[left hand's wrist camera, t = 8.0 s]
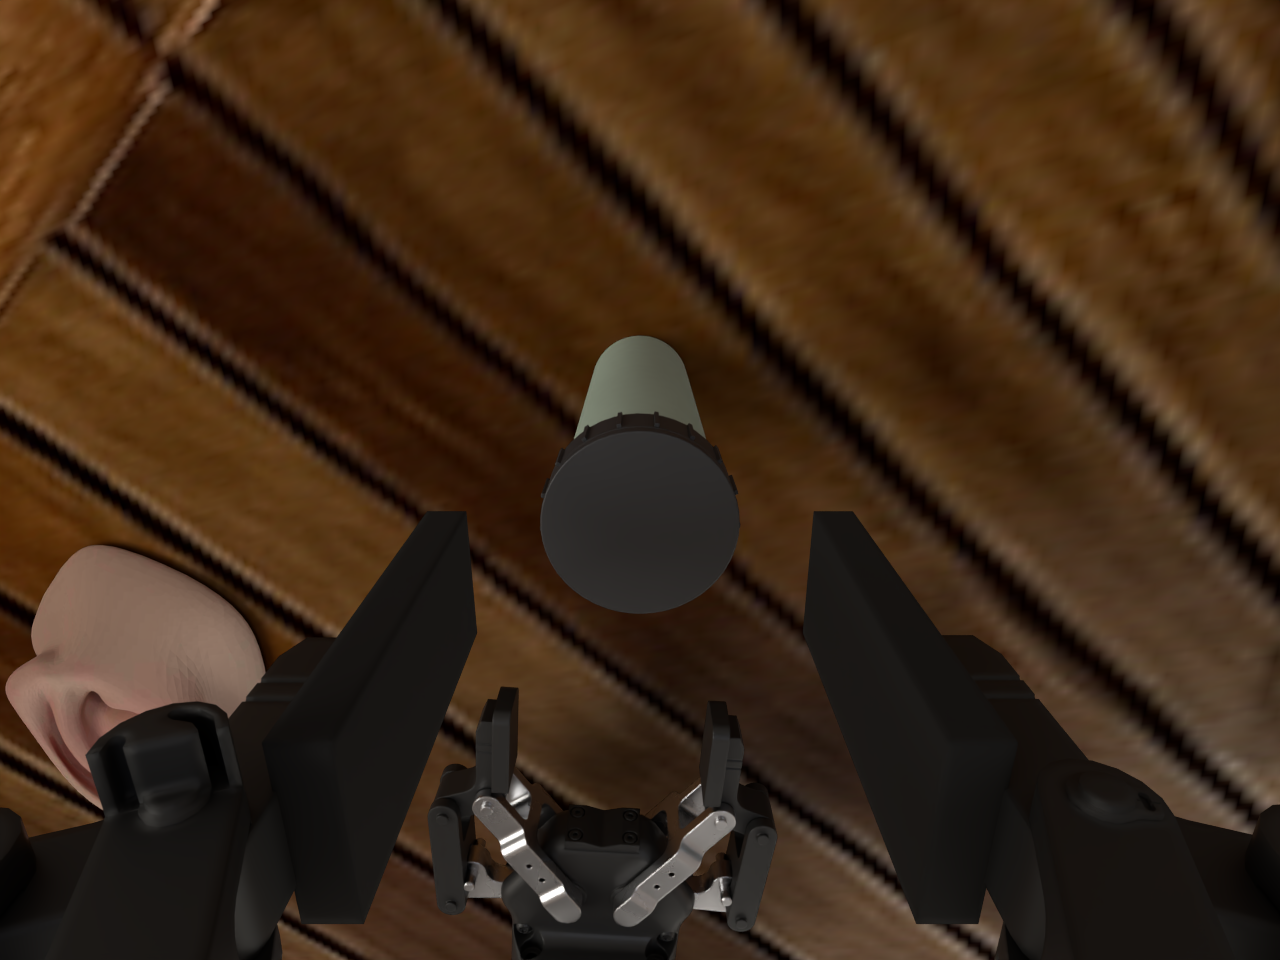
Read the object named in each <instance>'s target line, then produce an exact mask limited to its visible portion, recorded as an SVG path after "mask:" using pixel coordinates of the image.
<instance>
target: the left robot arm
mask: <svg viewBox="0 0 1280 960" xmlns="http://www.w3.org/2000/svg"><path fill="white" fill-rule="evenodd" d="M476 634H477V626H476V615H475V604H474V593H473V582H472V571H471V559H470V548H469V537H468V526H467V515H466V511H427V512H426V514H425V515H424V517H423V518H422V519H421V521H420V522H419V524H418V525H417V526H416V528H415V529H414V531H413V532H412V533H411V535H410V536H409V538H408V539H407V540H406V542H405V543H404V545H403V546H402V547H401V549H400V550H399V552H398V553H397V554H396V556H395V557H394V559H393V560H392V561H391V563H390V564H389V566H388V567H387V568H386V570H385V571H384V572H383V574H382V575H381V577H380V578H379V579H378V581H377V582H376V584H375V585H374V586H373V588H372V589H371V591H370V592H369V593H368V595H367V596H366V598H365V599H364V600H363V602H362V603H361V605H360V606H359V607H358V609H357V610H356V612H355V613H354V614H353V616H352V617H351V619H350V620H349V621H348V623H347V624H346V626H345V627H344V628H343V630H342V631H341V633H340V634H339V635H338V637H337V638H306V639H305V640H303V641H302V642H300V643H299V644H297V645H296V646H294V647H293V648H291V649H290V650H288V651H286V652H285V653H283V654H282V655H280V656H279V657H278V658H277V660H276V661H275V662H274V663H273V664H272V666H271V667H270V668H269V669H268V671H267V672H266V673H265V674H264V675H263V677H262V678H261V683H257V684H256V685H255V686H254V688H253V689H252V690H251V691H250V693H249V694H248V695H247V696H246V701H245V702H241V704H240V705H239V706H238V707H237V708H236V710H235V711H234V712H233V713H232V715H231V716H230V717H229V718H228V716H227V713H226V712H225V711H223V710H222V709H221V708H220V707H218V706H217V705H215V704H210V703H204V702H199V701H194V702H182V703H172V704H169V705H165V706H162V707H158V708H155V709H151V710H147V711H145V712H143V713H141V714H138V715H136V716H134V717H132V718H130V719H128V720H126V721H123V722H121V723H120V724H118V725H117V726H115V727H114V728H113V729H111V730H110V731H108V732H107V733H106V734H104V735H103V736H101V737H100V738H99V739H98V740H97V741H96V742H95V744H94V745H93V746H92V747H91V749H90V750H89V751H88V752H87V754H86V755H85V756H86V759H87V762H88V765H89V768H90V771H91V774H92V777H93V780H94V783H95V786H96V789H97V793H98V796H99V799H100V802H101V805H102V808H103V811H104V814H105V820H102V821H98V822H95V823H91V824H87V825H82V826H78V827H74V828H69V829H65V830H61V831H56V832H52V833H47V834H43V835H39V836H34V837H30V838H28V835H27V832H26V830H25V827H24V824H23V822H22V819H21V817H20V816H19V815H17V814H16V813H15V812H13V811H12V810H10V809H9V808H0V960H282V947H281V940H280V934H279V930H278V926H277V923H278V921H279V919H280V917H281V915H282V913H283V911H284V909H285V907H286V905H287V903H288V901H289V899H290V897H291V896H292V894H293V892H294V891H295V896H296V900H297V905H298V909H299V914H300V918H301V923H302V924H364V922H365V919H366V917H367V914H368V911H369V909H370V906H371V904H372V901H373V899H374V896H375V894H376V891H377V888H378V886H379V883H380V881H381V878H382V876H383V873H384V870H385V868H386V865H387V863H388V860H389V858H390V855H391V852H392V850H393V847H394V845H395V842H396V840H397V837H398V834H399V832H400V829H401V827H402V824H403V822H404V819H405V816H406V814H407V811H408V809H409V806H410V804H411V801H412V799H413V796H414V793H415V791H416V788H417V786H418V783H419V781H420V778H421V775H422V773H423V770H424V768H425V765H426V763H427V760H428V757H429V755H430V752H431V750H432V747H433V745H434V742H435V739H436V737H437V734H438V732H439V729H440V727H441V724H442V722H443V719H444V716H445V714H446V711H447V709H448V706H449V704H450V701H451V698H452V696H453V693H454V691H455V688H456V686H457V683H458V680H459V678H460V675H461V673H462V670H463V668H464V665H465V662H466V660H467V657H468V655H469V652H470V650H471V647H472V645H473V642H474V639H475V637H476ZM803 634H804V637H805V639H806V642H807V644H808V647H809V650H810V652H811V655H812V657H813V660H814V662H815V665H816V668H817V670H818V673H819V675H820V678H821V680H822V683H823V686H824V688H825V691H826V693H827V696H828V698H829V701H830V704H831V706H832V709H833V711H834V714H835V716H836V719H837V722H838V724H839V727H840V729H841V732H842V734H843V737H844V739H845V742H846V745H847V747H848V750H849V752H850V755H851V757H852V760H853V763H854V765H855V768H856V770H857V773H858V775H859V778H860V781H861V783H862V786H863V788H864V791H865V793H866V796H867V799H868V801H869V804H870V806H871V809H872V811H873V814H874V816H875V819H876V822H877V824H878V827H879V829H880V832H881V834H882V837H883V840H884V842H885V845H886V847H887V850H888V852H889V855H890V858H891V860H892V863H893V865H894V868H895V870H896V873H897V876H898V878H899V881H900V883H901V886H902V888H903V891H904V894H905V896H906V899H907V901H908V904H909V906H910V909H911V911H912V914H913V917H914V919H915V922H916V924H978V923H979V918H980V914H981V909H982V905H983V900H984V896H985V891H986V888H987V890H988V892H989V894H990V896H991V898H992V900H993V902H994V904H995V905H996V907H997V909H998V911H999V913H1000V915H1001V917H1002V919H1003V921H1004V922H1003V926H1002V930H1001V934H1000V938H999V943H998V947H997V951H996V955H995V960H1280V805H1272V806H1271V807H1269V808H1268V809H1266V810H1265V811H1264V812H1262V813H1261V814H1260V817H1259V819H1258V822H1257V824H1256V827H1255V830H1254V832H1253V835H1251V834H1247V833H1242V832H1238V831H1234V830H1229V829H1225V828H1220V827H1216V826H1212V825H1207V824H1203V823H1198V822H1194V821H1190V820H1186V819H1182V818H1179V817H1176V816H1174V815H1173V813H1172V812H1171V810H1170V809H1169V807H1168V806H1167V804H1166V803H1165V802H1164V800H1163V799H1162V798H1161V797H1160V796H1159V795H1158V794H1156V793H1155V792H1154V791H1153V790H1151V789H1150V788H1149V787H1148V786H1147V785H1145V784H1144V783H1143V782H1142V781H1140V780H1138V779H1136V778H1134V777H1132V776H1130V775H1128V774H1126V773H1125V772H1123V771H1121V770H1119V769H1117V768H1114V767H1110V766H1107V765H1104V764H1101V763H1098V762H1095V761H1091V760H1088V759H1087V757H1086V756H1085V755H1084V754H1083V753H1082V751H1081V750H1080V749H1079V748H1078V747H1077V745H1076V744H1075V743H1074V742H1073V740H1072V739H1071V738H1070V737H1069V736H1068V734H1067V733H1066V732H1065V731H1064V730H1063V728H1062V727H1061V726H1060V725H1059V723H1058V722H1057V721H1056V720H1055V719H1054V717H1053V716H1052V715H1051V714H1050V713H1049V711H1048V710H1047V709H1046V708H1045V706H1044V705H1043V704H1042V703H1041V702H1040V700H1039V699H1035V696H1034V695H1035V694H1034V693H1033V692H1032V691H1031V689H1030V688H1029V687H1028V686H1027V685H1026V683H1025V682H1024V681H1023V680H1020V678H1019V675H1018V674H1017V672H1016V671H1015V670H1014V669H1013V668H1012V666H1011V665H1010V664H1009V663H1008V661H1007V660H1006V659H1005V658H1004V657H1003V655H1002V654H1001V653H999V652H998V651H996V650H994V649H993V648H991V647H990V646H988V645H987V644H985V643H984V642H982V641H981V640H979V639H978V638H976V637H975V636H973V635H941V634H940V632H939V631H938V630H937V628H936V627H935V626H934V624H933V623H932V621H931V620H930V619H929V617H928V616H927V614H926V613H925V612H924V610H923V609H922V607H921V606H920V605H919V603H918V602H917V600H916V599H915V598H914V596H913V595H912V593H911V592H910V591H909V589H908V588H907V586H906V585H905V584H904V582H903V581H902V579H901V578H900V577H899V575H898V574H897V572H896V571H895V570H894V568H893V567H892V566H891V564H890V563H889V561H888V560H887V559H886V557H885V556H884V554H883V553H882V552H881V550H880V549H879V547H878V546H877V545H876V543H875V542H874V540H873V539H872V538H871V536H870V535H869V533H868V532H867V531H866V529H865V528H864V526H863V525H862V524H861V522H860V521H859V519H858V518H857V517H856V515H855V514H854V512H853V511H814V515H813V526H812V537H811V548H810V559H809V571H808V582H807V593H806V604H805V615H804V626H803Z"/></svg>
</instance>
